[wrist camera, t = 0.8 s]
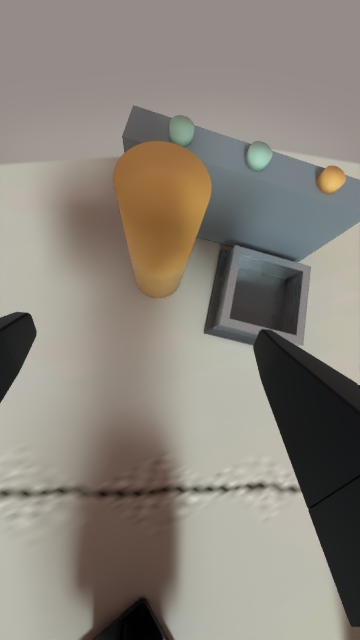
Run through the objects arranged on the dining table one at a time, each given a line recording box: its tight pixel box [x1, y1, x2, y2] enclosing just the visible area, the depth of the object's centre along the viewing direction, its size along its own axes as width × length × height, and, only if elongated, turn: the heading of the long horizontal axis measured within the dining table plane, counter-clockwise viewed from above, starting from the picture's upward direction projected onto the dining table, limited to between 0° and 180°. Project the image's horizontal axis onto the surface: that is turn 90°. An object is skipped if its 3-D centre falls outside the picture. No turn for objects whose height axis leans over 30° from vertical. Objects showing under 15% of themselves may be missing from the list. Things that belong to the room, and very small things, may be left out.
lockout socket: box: [204, 245, 311, 346], centre depth 22 cm, size 10×10×3 cm
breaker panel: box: [122, 106, 360, 263], centre depth 20 cm, size 20×4×10 cm, turn 77°
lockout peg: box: [113, 141, 211, 298], centre depth 17 cm, size 5×5×12 cm
